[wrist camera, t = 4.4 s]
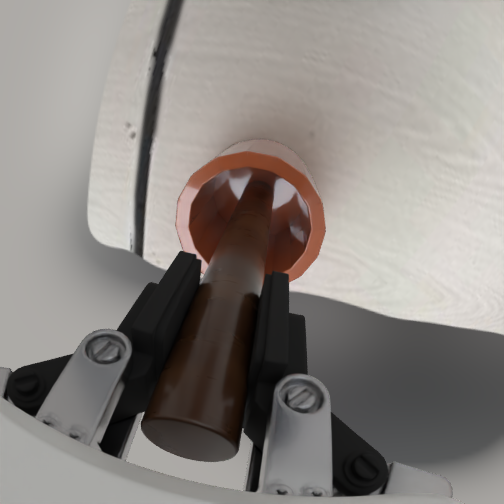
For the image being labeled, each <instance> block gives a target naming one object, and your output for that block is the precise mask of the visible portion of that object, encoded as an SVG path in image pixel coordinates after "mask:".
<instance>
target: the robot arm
mask: <svg viewBox="0 0 504 504" xmlns="http://www.w3.org/2000/svg"><path fill="white" fill-rule="evenodd" d="M201 265H202V260H200V259H197V255H196V254H193V253H188V252H184V251H180V252H179V253H178V255H177V256H176V258H175V259H174V261H173V262H172V264H171V265H170V267H169V269H168V270H167V272H166V273H165V275H164V276H163V278H162V279H161V281H160V282H159V284H156V283H152V282H151V283H148V285H147V286H146V287H145V289H144V290H143V291H142V293H141V295H140V296H139V297H138V299H137V300H136V302H135V303H134V305H133V306H132V308H131V309H130V311H129V312H128V314H127V315H126V317H125V318H124V320H123V321H122V323H121V324H120V326H119V328H118V329H117V330H111V329H100V330H97V331H94V332H92V333H90V334H88V335H87V336H86V337H85V338H84V339H83V340H82V342H81V343H80V345H79V346H78V348H77V349H76V351H75V352H74V354H71V355H67V356H63V357H59V358H55V359H51V360H47V361H43V362H40V363H35V364H31V365H27V366H23V367H21V368H18V369H17V370H16V371H14V372H12V371H11V369H10V368H3V367H0V504H464V503H463V502H461V501H459V500H456V499H454V498H452V486H451V483H450V482H449V481H448V480H447V479H446V478H445V477H443V476H441V475H437V474H433V473H430V472H426V471H422V470H419V469H416V468H412V467H409V466H406V465H403V464H400V463H397V462H393V463H391V464H389V463H386V461H385V459H384V457H382V456H381V454H380V453H379V452H378V451H377V450H375V449H374V448H373V447H372V446H370V445H369V444H368V443H367V442H366V441H364V440H363V439H362V438H361V437H359V436H358V435H357V434H356V433H355V432H354V431H352V430H351V429H350V428H349V427H348V426H347V425H345V424H344V423H343V422H342V421H341V420H340V419H339V418H337V417H336V416H335V415H334V414H333V413H332V412H331V409H330V398H329V393H328V391H327V389H326V387H325V386H324V385H323V384H322V383H321V382H320V381H319V380H317V379H315V378H314V377H311V376H309V375H308V374H307V351H306V350H307V349H306V329H305V317H304V316H303V315H297V314H292V313H289V274H287V273H282V272H277V271H272V274H265V278H264V282H263V286H262V290H261V294H260V299H259V306H258V313H257V320H256V327H255V333H254V340H253V347H252V354H251V361H250V367H249V374H248V380H247V391H248V393H247V399H246V406H245V413H244V419H243V426H242V428H244V433H245V434H246V435H247V436H248V437H249V439H251V441H252V442H251V446H250V452H249V459H248V464H247V470H246V476H245V482H244V488H243V491H240V490H234V489H228V488H221V487H217V486H211V485H207V484H202V483H198V482H193V481H189V480H185V479H181V478H177V477H173V476H169V475H166V474H163V473H159V472H156V471H153V470H150V469H147V468H144V467H140V466H137V465H135V464H132V463H129V462H126V458H127V455H128V453H129V450H130V447H131V444H132V441H133V438H134V436H135V433H136V430H137V427H138V425H139V422H140V419H141V416H142V412H145V411H146V408H147V406H148V404H149V401H150V399H151V396H152V394H153V391H154V389H155V386H156V384H157V381H158V379H159V377H160V374H161V372H162V369H163V368H164V365H165V363H166V360H167V358H168V356H169V353H170V351H171V349H172V346H173V344H174V342H175V339H176V337H177V335H178V332H179V330H180V328H181V325H182V323H183V321H184V318H185V316H186V314H187V312H188V309H189V307H190V305H191V303H192V300H193V298H194V296H195V294H196V291H197V289H198V287H199V282H200V274H201Z"/></svg>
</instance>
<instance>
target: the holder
mask: <svg viewBox="0 0 504 504" xmlns="http://www.w3.org/2000/svg"><path fill="white" fill-rule="evenodd" d="M253 181H263V182H265V183H267V184H268V185H269V186H270V187H271V188H272V190H273V193H274V199H273V207H272V215H271V223H270V231H269V239H268V247H267V255H266V262H265V270H264V278H265V274H272V271H277V272H282V273H287V274H289V282H291V281H293V280H295V279H297V278H299V277H300V276H301V275H302V274H303V273H304V272H305V271H306V270H307V269H308V267H309V266H310V265H311V264H312V263H313V262H314V260H315V259H316V258H317V256H318V255H319V252H320V249H321V245H322V242H323V239H324V236H325V232H326V230H325V229H326V226H325V218H324V210H323V203H322V200H321V198H320V195H319V192H318V190H317V187H316V185H315V182H314V180H313V177H312V175H311V173H310V172H309V170H308V168H307V166H306V164H305V163H304V162H303V160H302V159H301V158H300V157H299V156H298V155H297V154H296V153H295V152H294V151H293V150H291V149H290V148H288V147H287V146H285V145H283V144H281V143H278V142H275V141H271V140H266V139H251V140H246V141H242V142H239V143H236V144H234V145H232V146H231V147H229V148H228V149H226V150H225V151H223V152H222V153H221V154H219V155H218V156H216V157H215V158H214V159H212V160H211V161H210V162H208V163H207V164H205V165H204V166H203V167H201V168H200V169H199V170H197V171H196V172H195V173H193V175H192V176H191V177H190V179H189V180H188V182H187V184H186V186H185V187H184V189H183V191H182V193H181V195H180V196H179V198H178V202H177V213H176V225H175V226H176V230H177V233H178V236H179V239H180V242H181V245H182V248H183V251H184V252H188V253H193V254H196V255H197V259H200V260H202V265H201V273H202V274H204V273H205V271H206V269H207V267H208V265H209V263H210V260H211V258H212V256H213V254H214V252H215V250H216V247H217V245H218V243H219V241H220V239H221V237H222V235H223V232H224V230H225V228H226V226H227V224H228V222H229V220H230V218H231V216H232V213H233V211H234V209H235V207H236V205H237V203H238V201H239V199H240V197H241V195H242V193H243V191H244V189H245V187H246V186H247V185H248V184H249V183H251V182H253ZM264 278H263V282H264ZM262 286H263V285H262Z"/></svg>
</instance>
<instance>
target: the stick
mask: <svg viewBox="0 0 504 504" xmlns="http://www.w3.org/2000/svg"><path fill="white" fill-rule="evenodd" d="M273 199H274V193H273V190H272V188H271V187H270V186H269V185H268V184H267V183H265V182H263V181H253V182H251V183H249V184H248V185H247V186H246V187H245V189H244V191H243V193H242V195H241V197H240V199H239V201H238V203H237V205H236V207H235V209H234V211H233V213H232V216H231V218H230V220H229V222H228V224H227V226H226V228H225V230H224V232H223V235H222V237H221V239H220V241H219V243H218V245H217V247H216V250H215V252H214V254H213V256H212V258H211V260H210V263H209V265H208V267H207V269H206V271H205V273H204V276H203V278H202V280H201V282H200V284H199V287H198V289H197V291H196V294H195V296H194V298H193V300H192V303H191V305H190V307H189V309H188V312H187V314H186V316H185V318H184V321H183V323H182V325H181V328H180V330H179V332H178V335H177V337H176V339H175V342H174V344H173V346H172V349H171V351H170V353H169V356H168V358H167V360H166V363H165V365H164V368H163V369H162V372H161V374H160V377H159V379H158V381H157V384H156V386H155V389H154V391H153V394H152V396H151V399H150V401H149V404H148V406H147V408H146V411H145V414H144V416H143V419H142V421H141V430H142V432H143V433H144V435H145V436H146V437H147V438H148V439H149V440H150V441H151V442H152V443H154V444H155V445H156V446H158V447H160V448H161V449H163V450H165V451H167V452H170V453H172V454H174V455H177V456H180V457H183V458H187V459H191V460H196V461H204V462H218V461H225V460H229V459H231V458H233V457H234V456H235V455H236V454H237V452H238V451H239V446H240V439H241V433H242V426H243V419H244V413H245V406H246V399H247V393H248V391H247V380H248V374H249V367H250V361H251V354H252V347H253V340H254V333H255V327H256V320H257V313H258V306H259V299H260V294H261V290H262V285H263V278H264V270H265V262H266V255H267V247H268V239H269V231H270V223H271V215H272V207H273Z"/></svg>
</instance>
